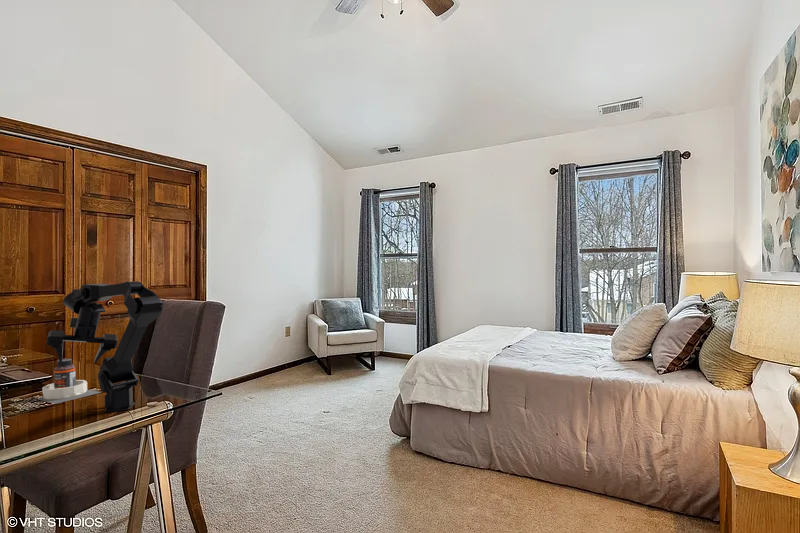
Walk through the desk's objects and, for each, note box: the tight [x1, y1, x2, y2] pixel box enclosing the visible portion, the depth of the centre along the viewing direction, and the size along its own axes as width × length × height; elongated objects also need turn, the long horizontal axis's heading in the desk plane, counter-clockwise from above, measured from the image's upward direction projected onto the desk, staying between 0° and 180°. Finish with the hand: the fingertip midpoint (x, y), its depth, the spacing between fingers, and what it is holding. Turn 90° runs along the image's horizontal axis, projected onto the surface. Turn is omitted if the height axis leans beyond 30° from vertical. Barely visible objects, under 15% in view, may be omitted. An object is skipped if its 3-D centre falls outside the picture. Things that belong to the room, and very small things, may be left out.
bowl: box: [42, 379, 88, 400], centre depth 151 cm, size 12×12×4 cm
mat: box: [38, 388, 102, 405], centre depth 151 cm, size 18×14×1 cm
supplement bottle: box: [53, 358, 77, 389], centre depth 151 cm, size 6×6×11 cm
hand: (77, 362), depth 145 cm, fingers open, 9 cm apart
